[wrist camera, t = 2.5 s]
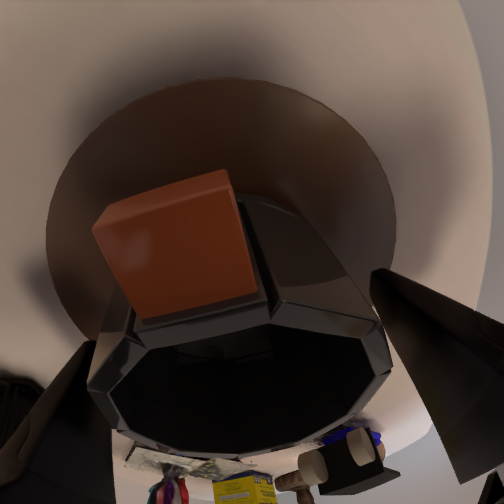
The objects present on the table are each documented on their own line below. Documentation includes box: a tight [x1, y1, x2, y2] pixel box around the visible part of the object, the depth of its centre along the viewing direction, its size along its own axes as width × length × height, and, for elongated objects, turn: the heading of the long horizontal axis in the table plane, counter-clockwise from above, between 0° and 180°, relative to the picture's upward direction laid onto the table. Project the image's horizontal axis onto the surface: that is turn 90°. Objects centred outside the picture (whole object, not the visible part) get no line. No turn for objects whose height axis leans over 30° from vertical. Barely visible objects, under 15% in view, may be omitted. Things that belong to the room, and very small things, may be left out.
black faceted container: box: [87, 169, 393, 459], centre depth 7 cm, size 8×7×4 cm
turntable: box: [46, 78, 396, 341], centre depth 10 cm, size 13×13×1 cm
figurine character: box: [298, 420, 401, 495], centre depth 21 cm, size 7×8×15 cm
